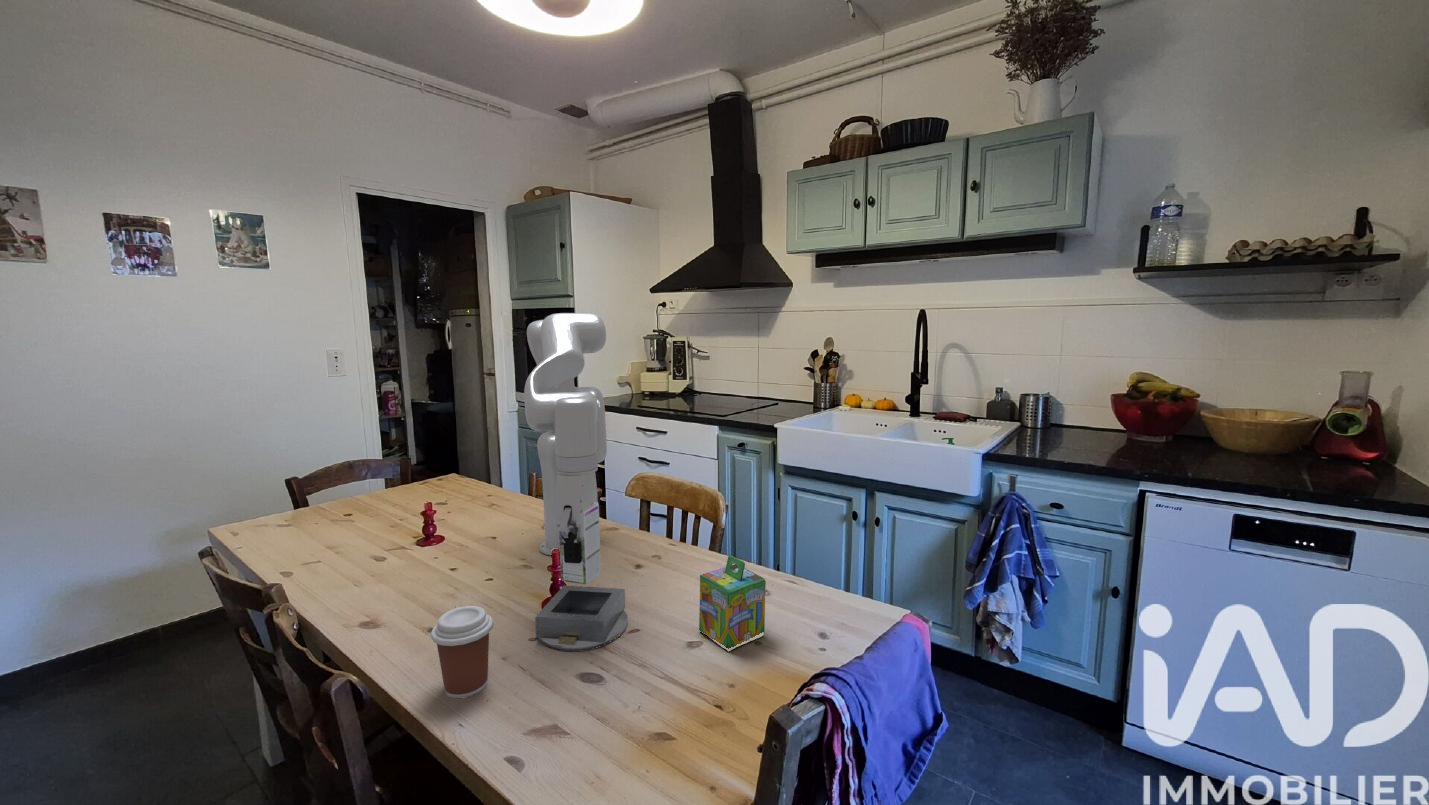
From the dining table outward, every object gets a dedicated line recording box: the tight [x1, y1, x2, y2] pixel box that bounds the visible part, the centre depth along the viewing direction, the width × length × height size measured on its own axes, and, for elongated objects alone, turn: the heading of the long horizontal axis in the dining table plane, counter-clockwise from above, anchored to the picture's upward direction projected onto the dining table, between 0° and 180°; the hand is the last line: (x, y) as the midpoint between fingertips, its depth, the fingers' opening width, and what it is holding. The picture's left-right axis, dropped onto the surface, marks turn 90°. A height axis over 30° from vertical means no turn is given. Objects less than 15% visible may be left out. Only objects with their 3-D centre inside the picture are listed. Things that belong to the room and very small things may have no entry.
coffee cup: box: [430, 605, 494, 699], centre depth 90 cm, size 9×9×12 cm
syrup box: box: [559, 502, 602, 586], centre depth 107 cm, size 6×6×14 cm
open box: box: [534, 585, 628, 652], centre depth 108 cm, size 17×17×5 cm
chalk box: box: [698, 555, 767, 649], centre depth 105 cm, size 9×9×15 cm
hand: (580, 554), depth 107 cm, fingers closed on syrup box, 6 cm apart
